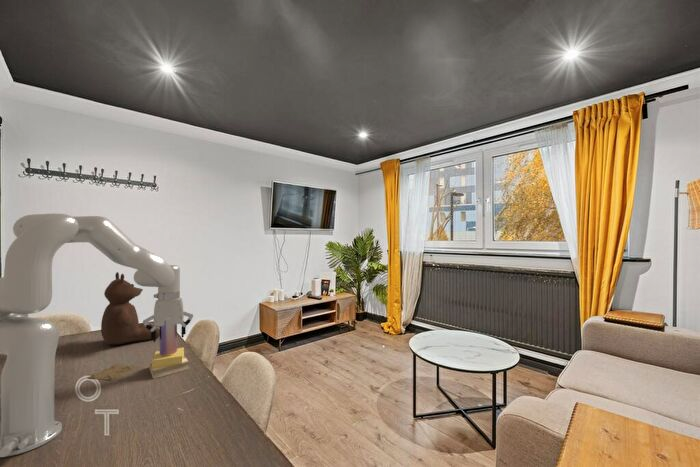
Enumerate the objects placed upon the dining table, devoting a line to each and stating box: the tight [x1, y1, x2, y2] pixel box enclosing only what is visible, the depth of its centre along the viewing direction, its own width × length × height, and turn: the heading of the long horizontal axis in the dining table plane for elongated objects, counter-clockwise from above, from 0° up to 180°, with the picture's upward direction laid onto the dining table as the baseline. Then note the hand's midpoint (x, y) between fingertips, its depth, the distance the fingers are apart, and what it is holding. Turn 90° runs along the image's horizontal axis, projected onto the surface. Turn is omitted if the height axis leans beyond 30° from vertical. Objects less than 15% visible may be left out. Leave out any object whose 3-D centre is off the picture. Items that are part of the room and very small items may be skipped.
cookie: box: [87, 363, 141, 382], centre depth 116 cm, size 12×12×1 cm
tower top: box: [151, 347, 185, 368], centre depth 119 cm, size 10×10×3 cm
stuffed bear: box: [100, 271, 160, 346], centre depth 152 cm, size 29×23×35 cm
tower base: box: [148, 355, 190, 380], centre depth 119 cm, size 12×12×3 cm
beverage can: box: [159, 318, 178, 356], centre depth 119 cm, size 6×6×15 cm
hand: (168, 338), depth 119 cm, fingers open, 9 cm apart
